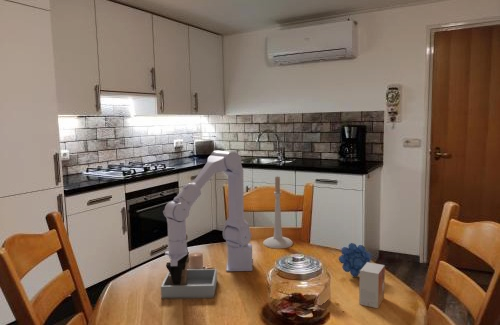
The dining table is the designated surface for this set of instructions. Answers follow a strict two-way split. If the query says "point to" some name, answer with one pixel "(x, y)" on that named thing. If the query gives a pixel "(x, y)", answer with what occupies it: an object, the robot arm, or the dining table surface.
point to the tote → (192, 285)
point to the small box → (371, 284)
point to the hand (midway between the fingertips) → (178, 279)
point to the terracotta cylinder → (196, 260)
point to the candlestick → (277, 224)
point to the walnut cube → (183, 279)
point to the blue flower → (354, 258)
